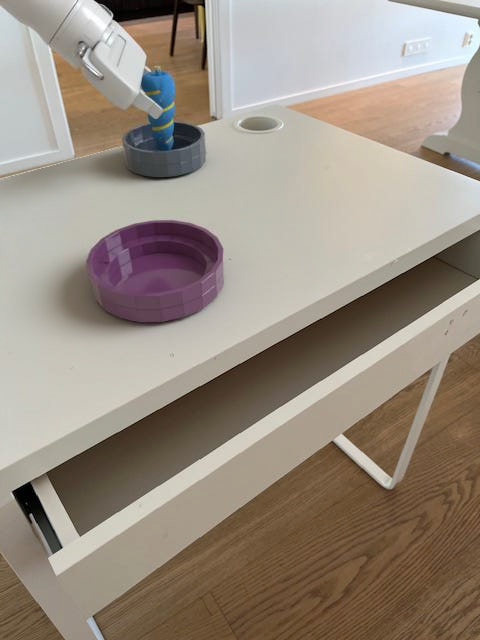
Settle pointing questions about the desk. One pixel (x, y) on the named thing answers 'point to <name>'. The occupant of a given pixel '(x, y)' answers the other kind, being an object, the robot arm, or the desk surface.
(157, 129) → the ornament
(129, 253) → the plum bowl
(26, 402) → the desk surface
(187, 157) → the grey bowl
